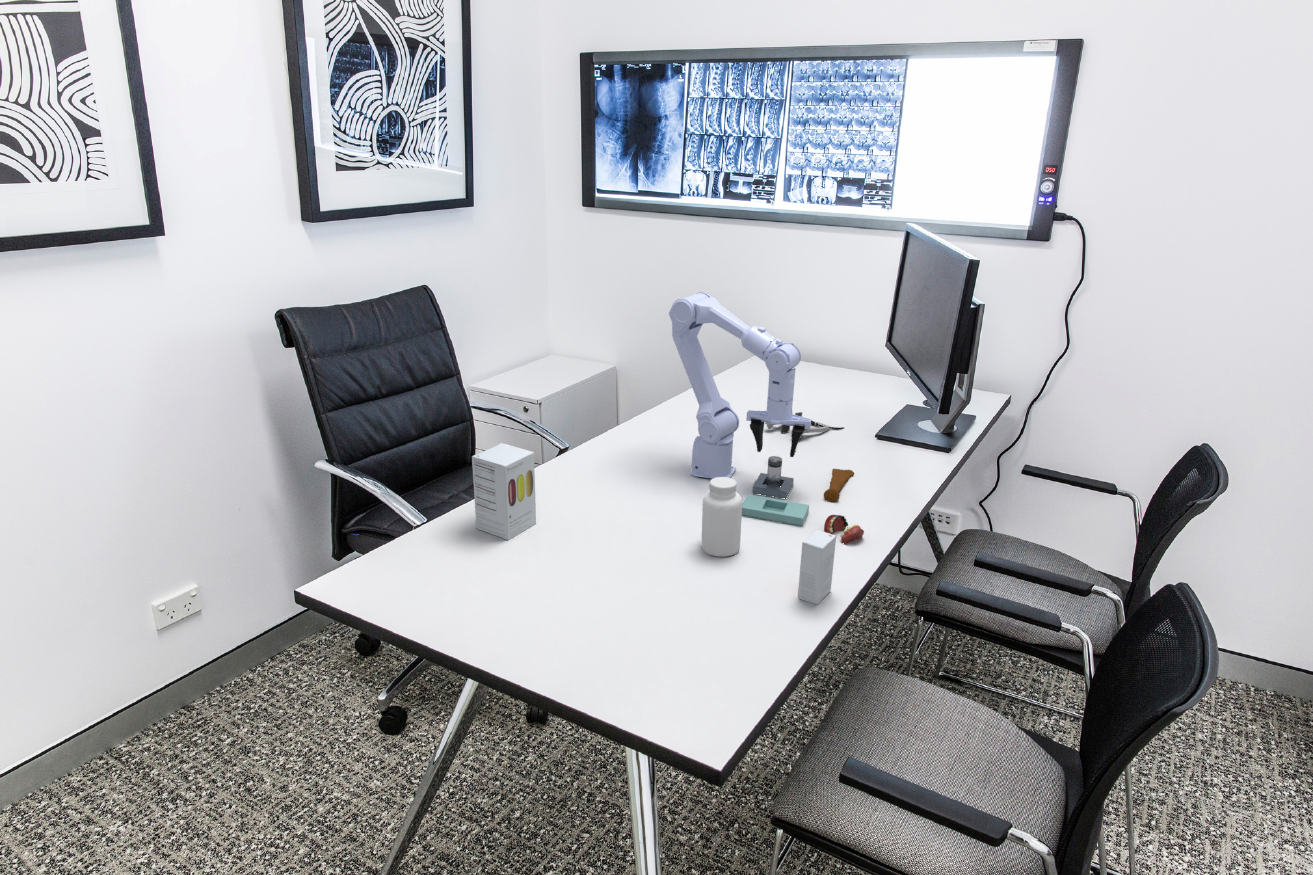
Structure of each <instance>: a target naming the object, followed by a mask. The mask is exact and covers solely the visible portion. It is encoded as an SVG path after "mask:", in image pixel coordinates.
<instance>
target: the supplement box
mask: <svg viewBox="0 0 1313 875" xmlns="http://www.w3.org/2000/svg"><path fill="white" fill-rule="evenodd" d="M471 463H472V464H471V465H472V480H473V492H474V493H473V495H474V496H473V497H474V509H475V510H474V514H475V527H476V528H475V529H478V530H480V531H483V532H486V533H488V534H491V535H494V536H496V537H499V538H502V539H504V540H506V541H509V540H511V539H512V538H514V537H516V536H518V535H519V534H521V533H522V532H524V531H526V530H528V529H529V528H531V527H533V526H534V525H536V524H537V512H536V511H537V510H536V509H537V506H536V504H537V503H536V480H535V479H536V477H535V476H536V474H535V452H534V451H531V450H527V449H524V448H521V447H517V446H513V445H511V444H507V443H503V442H501V443H499V444H496V445H494V446H493V447H490V448H488V449H486V450H484V451H481V452H479V453H477V454H474V455H472V456H471Z"/></svg>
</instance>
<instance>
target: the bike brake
mask: <svg viewBox="0 0 1313 875" xmlns="http://www.w3.org/2000/svg"><path fill="white" fill-rule="evenodd" d="M794 415H797V416H801V417H803V412H802V411H800V412H795V414H794ZM764 425H765V426H766V428H767V429H768V430H771V429H772V428H773V426H777V425H776V424H771V423H767V422H764ZM811 426H814V427H810V429H805V430H804V432H803V434H810V433H811V434H812V433H814V434H815V433H824V432H828V431H830V430H845V427H844V426H843V427H841V426H840V427H836V426H835V427H834V426H830V425H827V424H824V423H821V422H819V421H814V420H812V419H811ZM790 428H791V426H788V425H781V432H780V433H781V434H786V433H789V431H790ZM793 428H794V426H792V428H791V429H792V430H793ZM792 430H791V431H792ZM803 434H802V435H803ZM791 438H792V434H791Z"/></svg>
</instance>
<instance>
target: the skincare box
mask: <svg viewBox="0 0 1313 875" xmlns="http://www.w3.org/2000/svg"><path fill="white" fill-rule="evenodd" d="M836 540H837V535H836V534H829V533H826V532H824V530H823V531H822V530H820V529H815V530H814V531H813V532H812V533H811V534H809V536H807V538H805V539H804V541H802V545H801V553H800V554H801V555H800V567H799V578H798V589H797V591H798V592H797V598H798V599H799V600H803V601H806V602H808V603H811V604H814V605H819V604H820V602H822V600H823V599H825V597H826V596H827V595H828V594H829V593H830V592H831V590H832V580H833V574H834V572H833V571H834V561H835V553H836V552H835V551H836V543H837V542H836Z"/></svg>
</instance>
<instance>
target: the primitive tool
mask: <svg viewBox="0 0 1313 875" xmlns="http://www.w3.org/2000/svg"><path fill="white" fill-rule="evenodd" d="M831 470H832V471H831V472H832V473H831V475H832V476H831V479H830V482H829V488H828V489H826V490H825V491H824V493H823V499H824V501H826V500H827V501H826V502H830V503H836V502H838V501H839V499H840V493H841V492H840V491H841V490H842V489H843V487H844V486H845V485H846V484H847V483H848V481H849V480H850V479H851V478H852V477H854V475H855V472H854V471H853V470H852V469H840V468H832V469H831Z"/></svg>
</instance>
